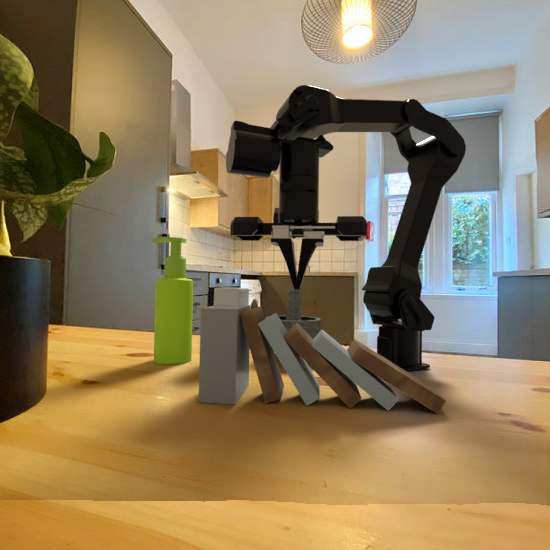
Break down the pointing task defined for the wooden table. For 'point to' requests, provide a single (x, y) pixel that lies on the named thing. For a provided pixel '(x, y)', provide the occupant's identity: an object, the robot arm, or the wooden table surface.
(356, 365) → the domino
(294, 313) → the mortar and pestle
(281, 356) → the domino
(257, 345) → the domino
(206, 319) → the bookend
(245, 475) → the wooden table surface
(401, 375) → the domino
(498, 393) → the wooden table surface
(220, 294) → the skincare box
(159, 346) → the soap dispenser
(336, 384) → the domino
